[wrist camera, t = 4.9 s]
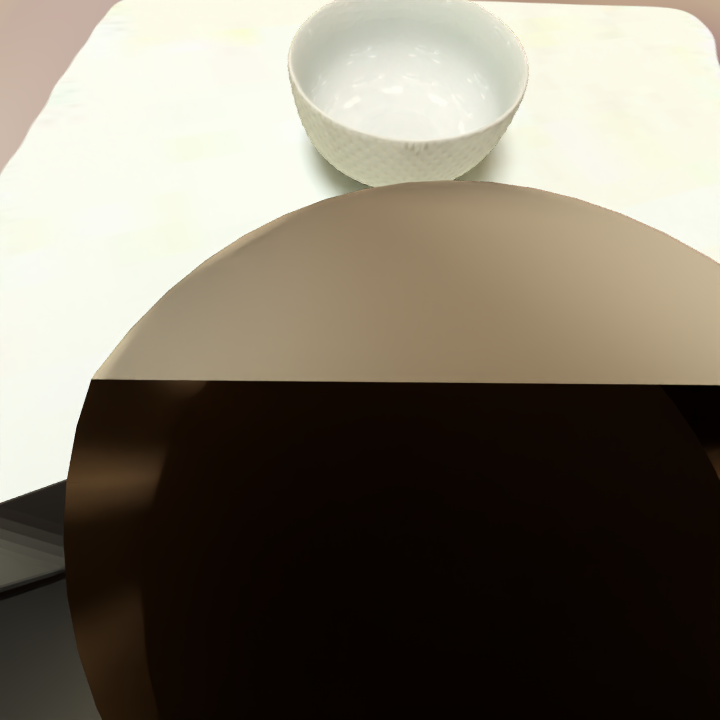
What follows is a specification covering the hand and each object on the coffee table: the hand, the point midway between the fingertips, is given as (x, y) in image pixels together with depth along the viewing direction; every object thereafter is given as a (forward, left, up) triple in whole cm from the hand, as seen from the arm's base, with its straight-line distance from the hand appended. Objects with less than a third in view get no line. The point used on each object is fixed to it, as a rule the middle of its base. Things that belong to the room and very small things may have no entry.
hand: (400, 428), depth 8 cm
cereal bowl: (+18, +19, -12) cm, 29 cm away
